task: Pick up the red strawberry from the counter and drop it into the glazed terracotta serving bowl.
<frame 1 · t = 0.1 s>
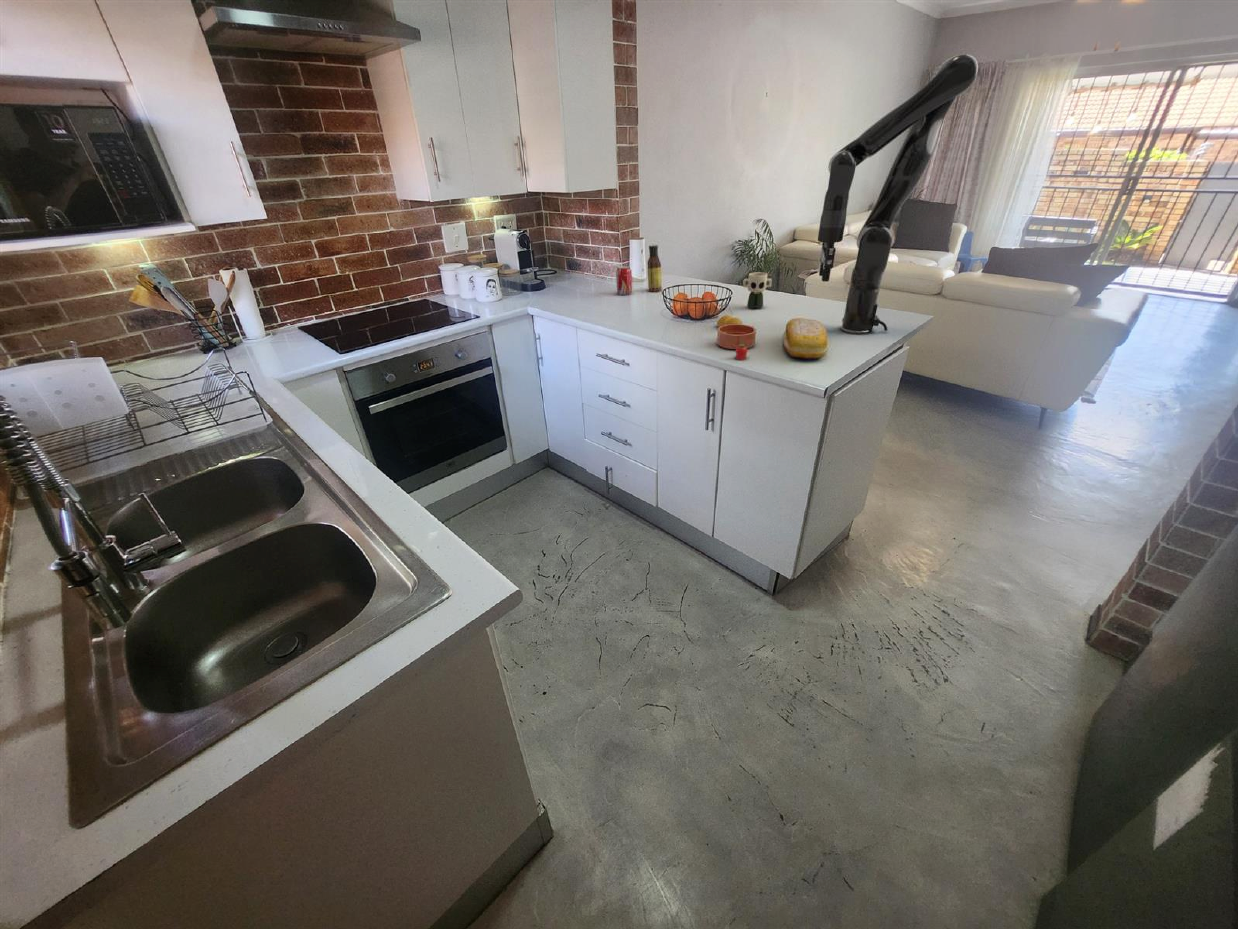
hand: (823, 278, 168), 17 cm above the worktop, tool pointing down, fingers open, 8 cm apart
bread roll: (729, 327, 184), on the worktop
sauce bottle: (654, 290, 238), on the worktop
character mug: (754, 308, 205), on the worktop
bread: (803, 348, 162), on the worktop
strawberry: (740, 358, 156), on the worktop
soda can: (624, 294, 235), on the worktop
bowl: (735, 344, 167), on the worktop
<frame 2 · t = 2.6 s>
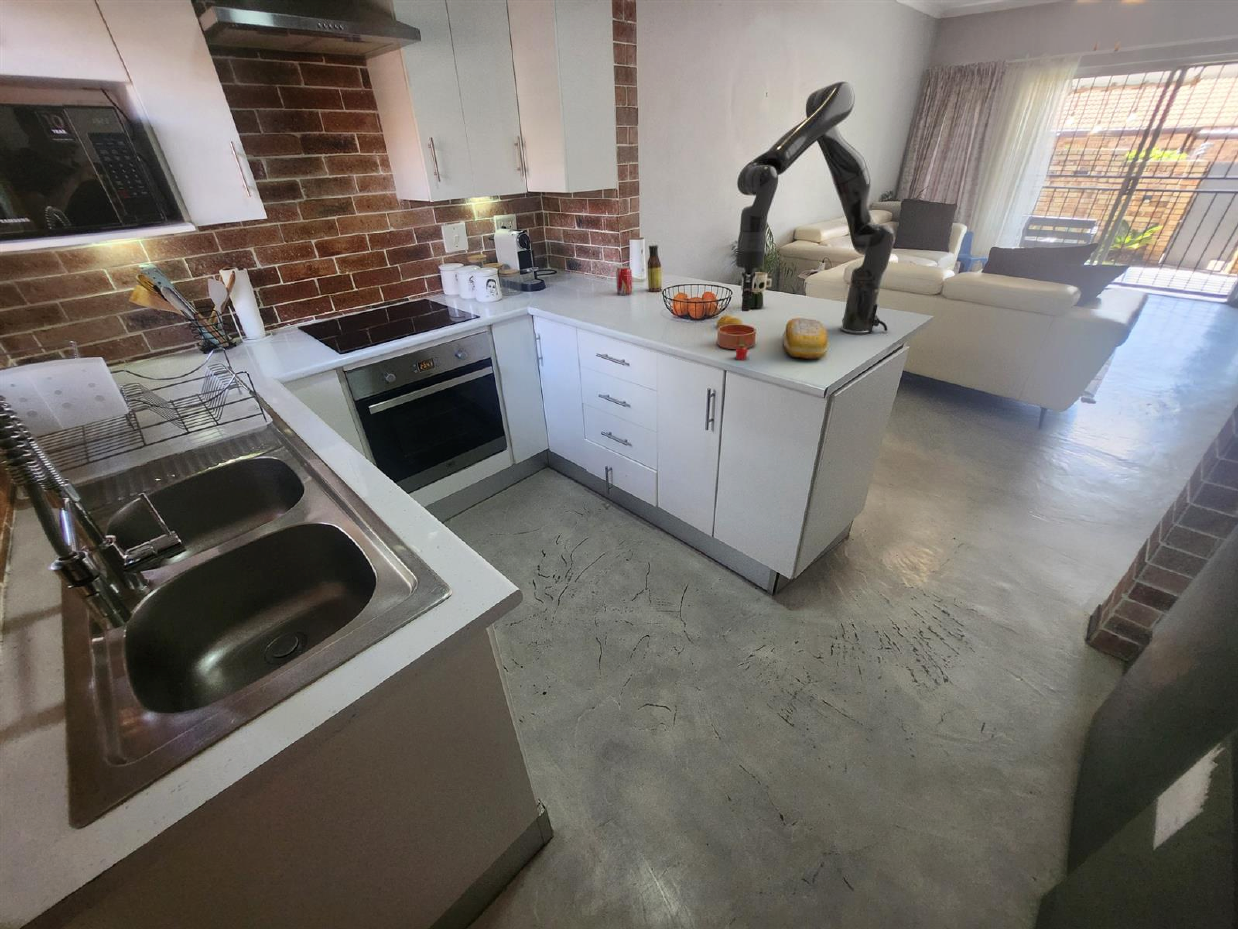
hand: (745, 307, 149), 15 cm above the worktop, tool pointing down, fingers open, 8 cm apart
nothing on the worktop moved.
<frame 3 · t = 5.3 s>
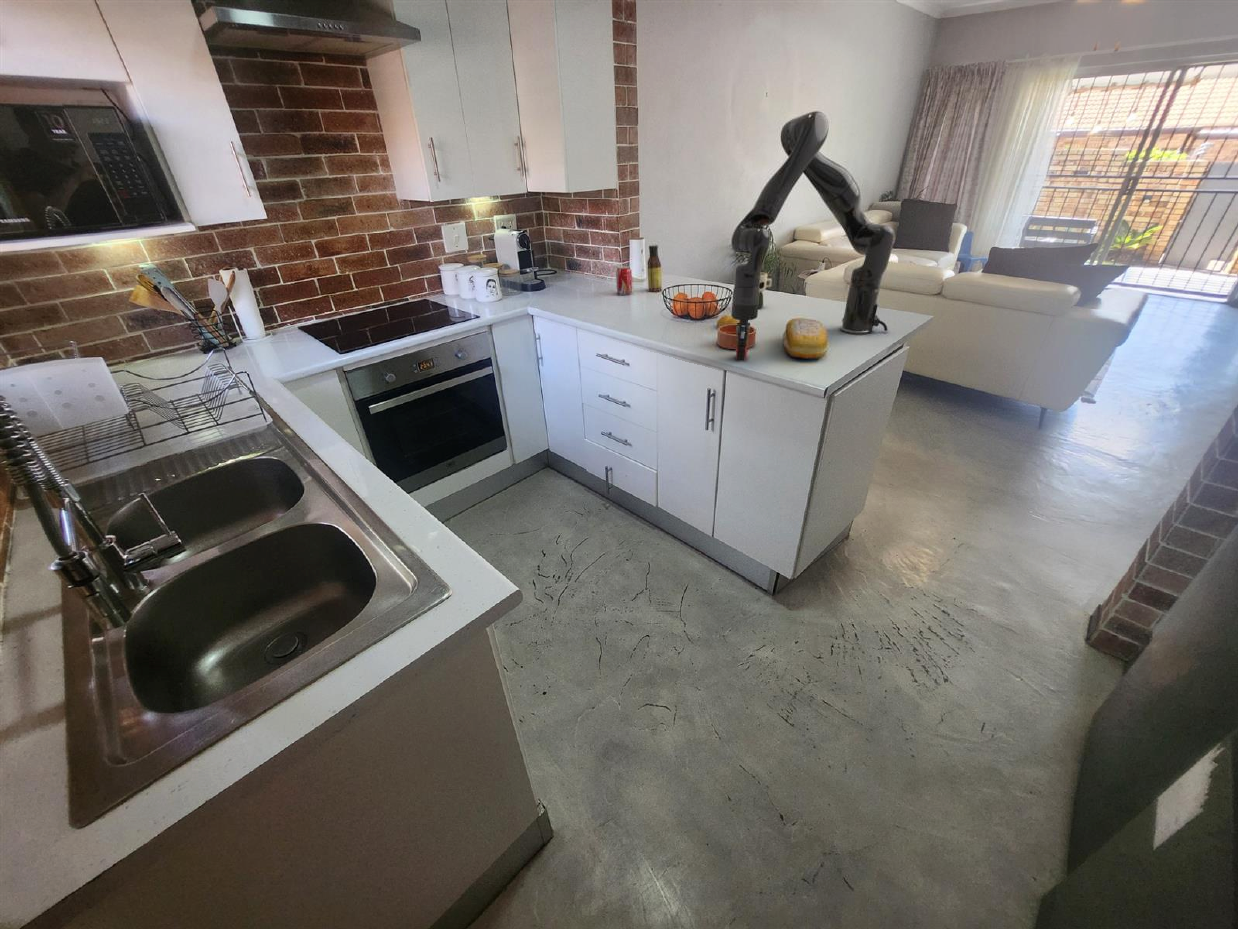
hand: (740, 357, 156), 0 cm above the worktop, tool pointing down, fingers closed on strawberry, 3 cm apart
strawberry: (740, 358, 156), on the worktop, touching gripper
everything else where it was.
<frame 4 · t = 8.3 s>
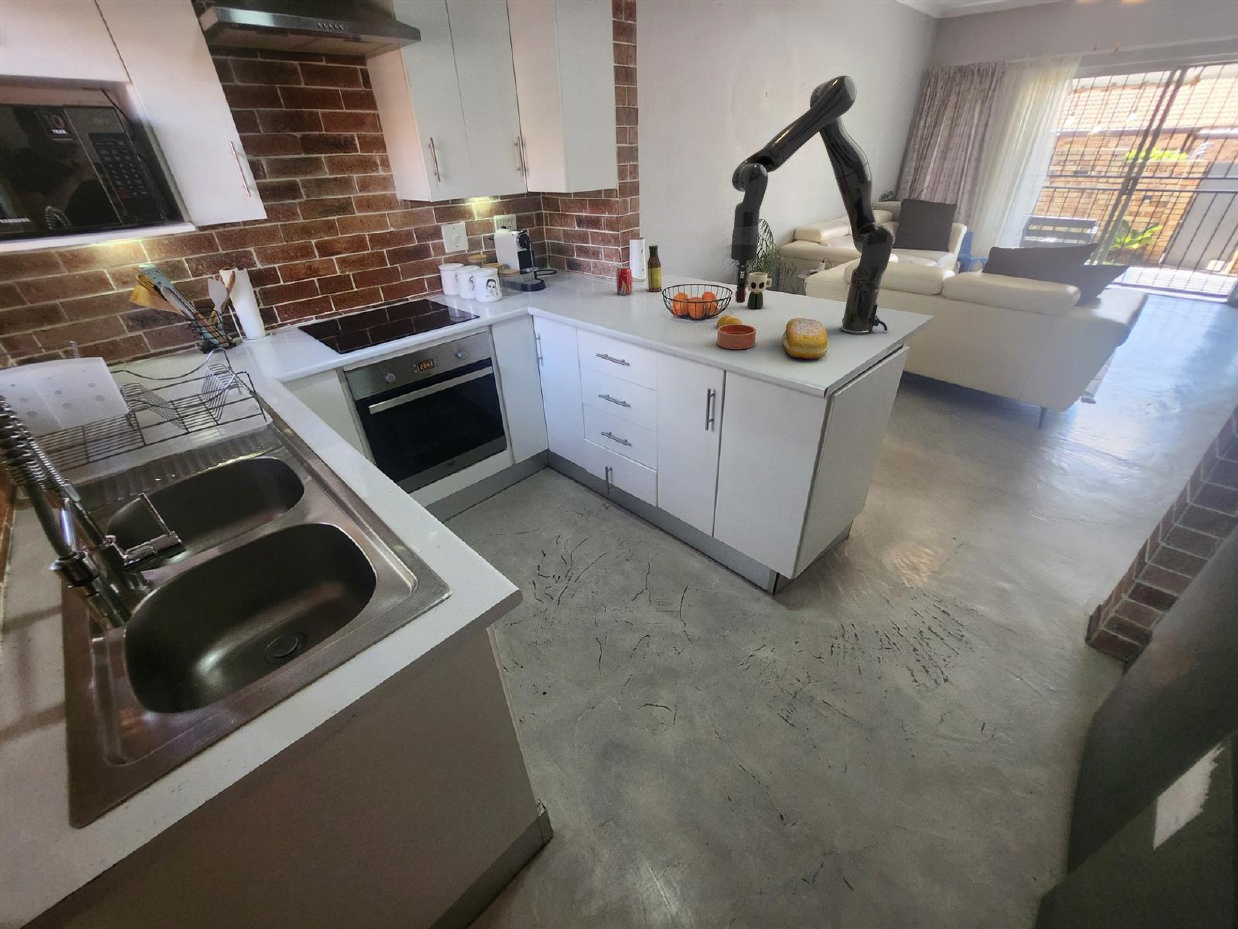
hand: (740, 300, 158), 15 cm above the worktop, tool pointing down, fingers closed on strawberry, 3 cm apart
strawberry: (740, 301, 158), point 14 cm above the worktop, touching gripper
everything else where it was.
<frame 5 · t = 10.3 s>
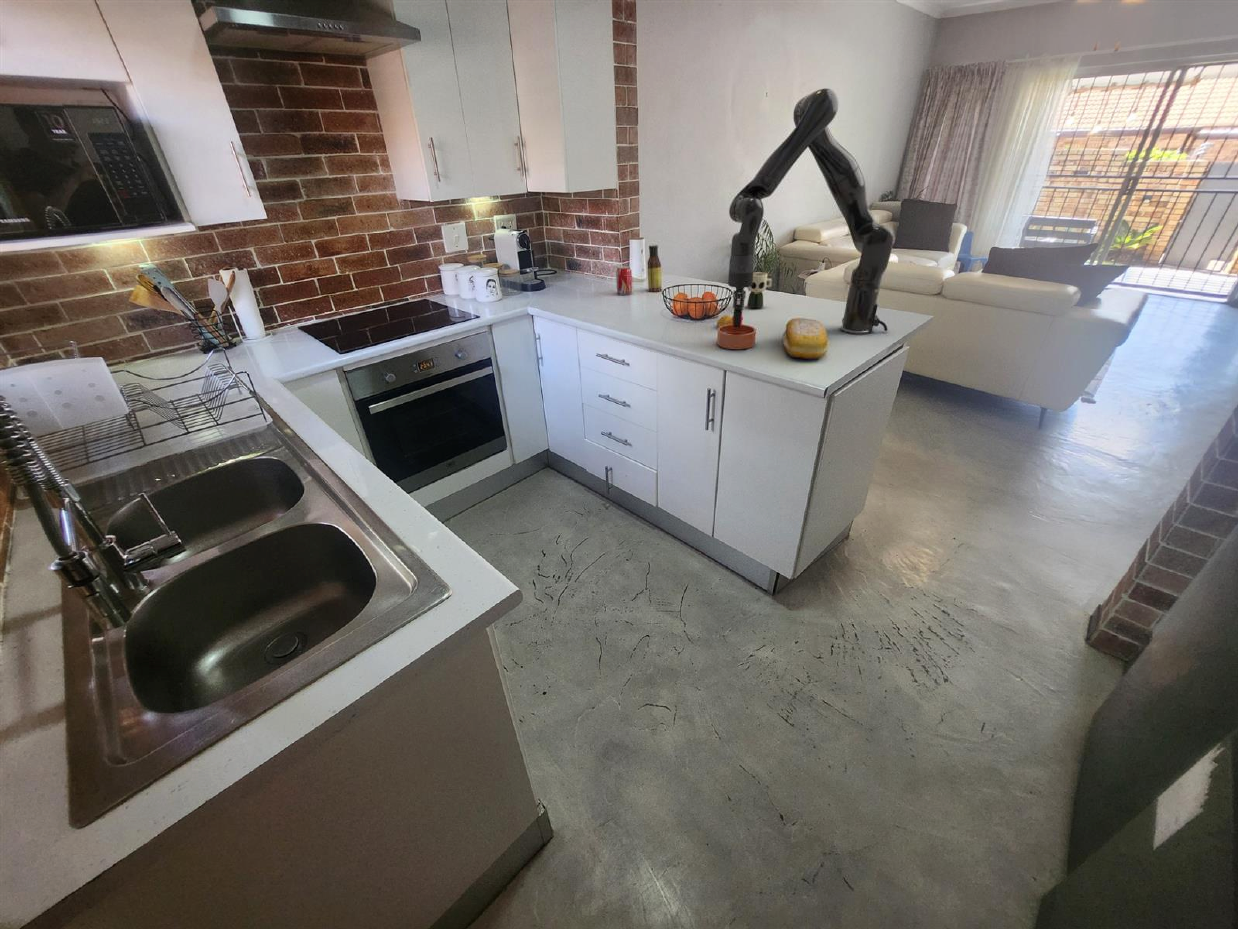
hand: (736, 324, 164), 6 cm above the worktop, tool pointing down, fingers closed on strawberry, 3 cm apart
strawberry: (736, 325, 164), point 6 cm above the worktop, touching gripper
everything else where it was.
when the fingers open (3 cm above the worktop, at t = 11.6 s): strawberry drops 2 cm, resting on bowl.
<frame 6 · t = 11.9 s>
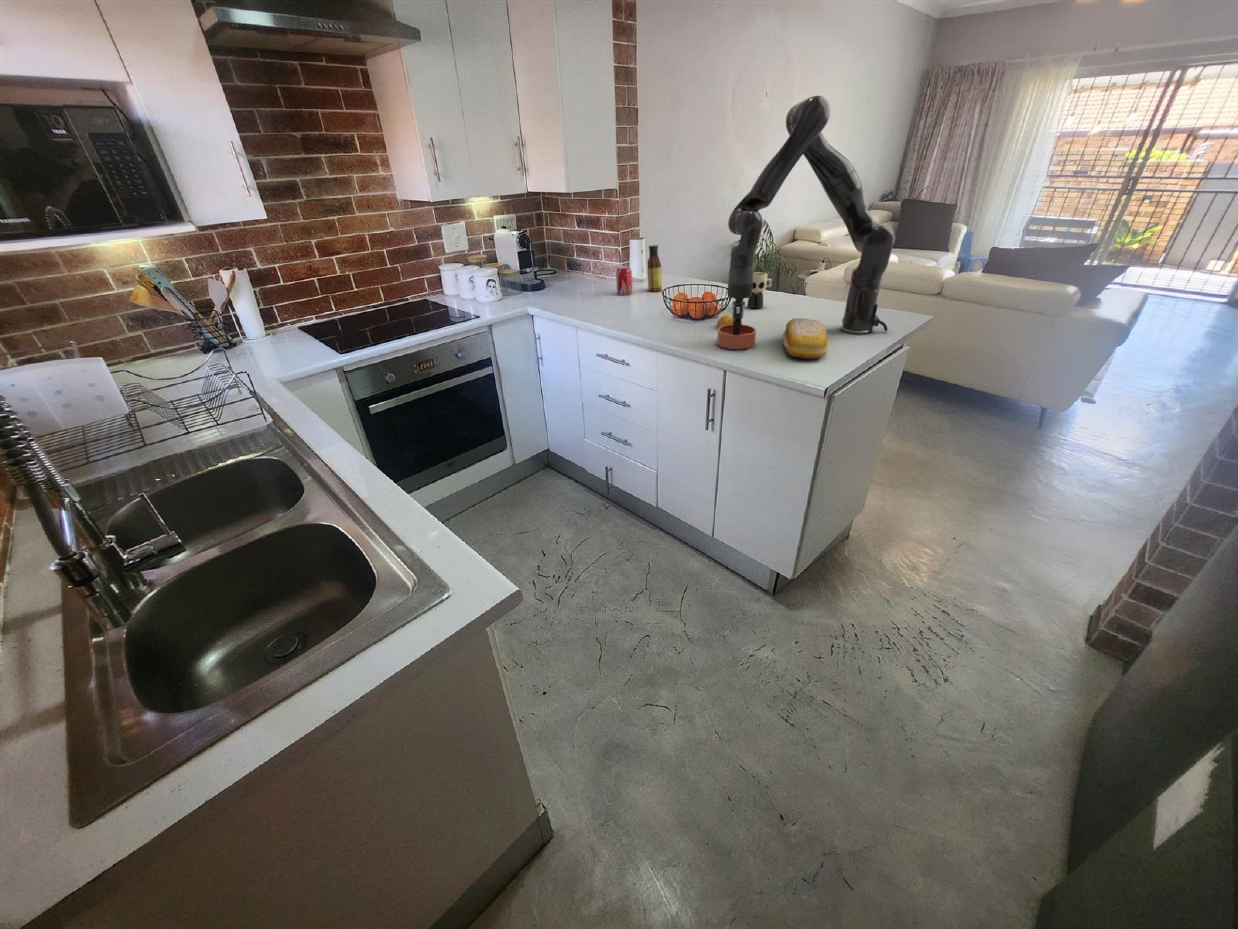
hand: (736, 333, 165), 4 cm above the worktop, tool pointing down, fingers open, 6 cm apart
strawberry: (735, 342, 167), resting on bowl
everything else where it was.
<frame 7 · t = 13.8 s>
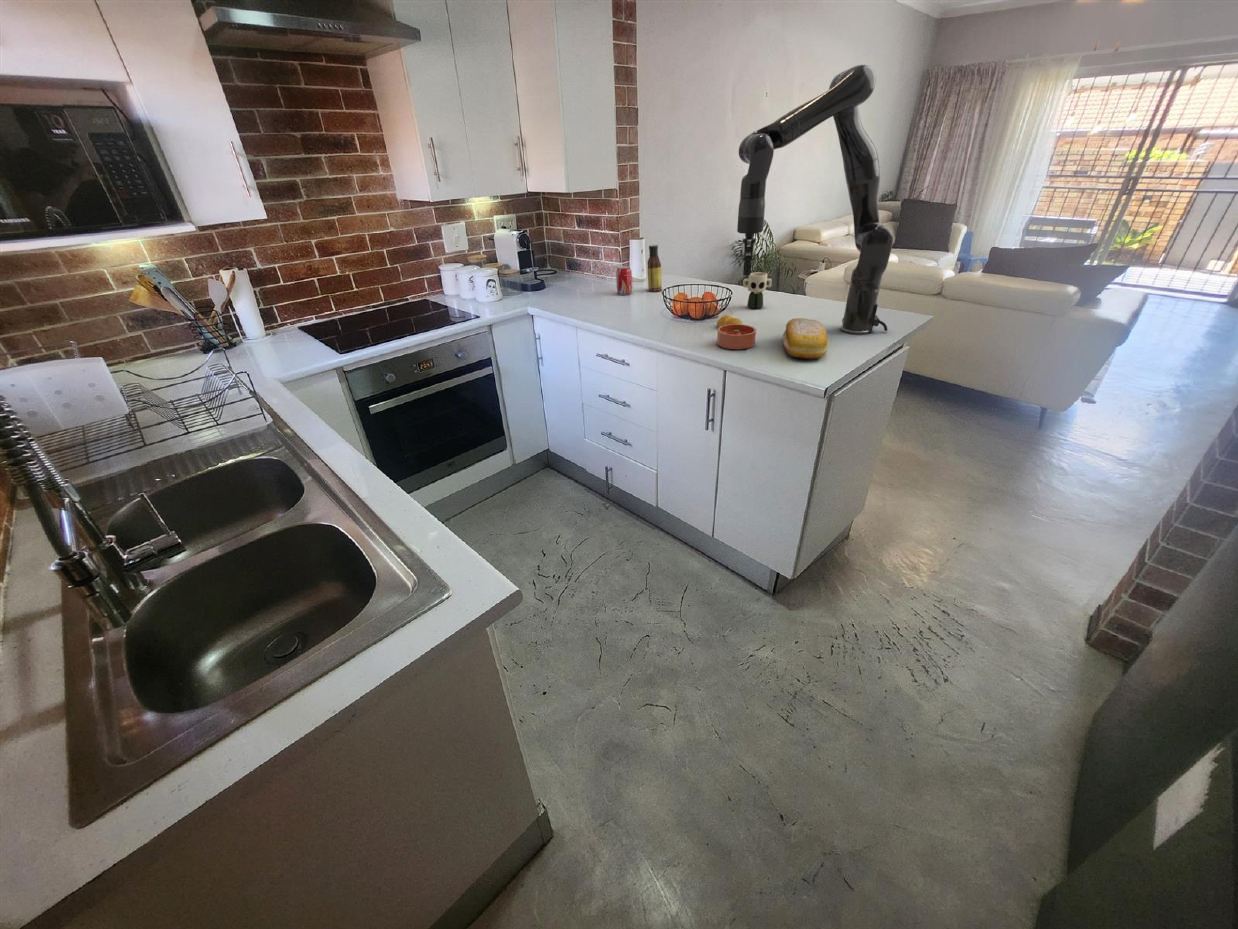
hand: (746, 272, 157), 22 cm above the worktop, tool pointing down, fingers open, 8 cm apart
nothing on the worktop moved.
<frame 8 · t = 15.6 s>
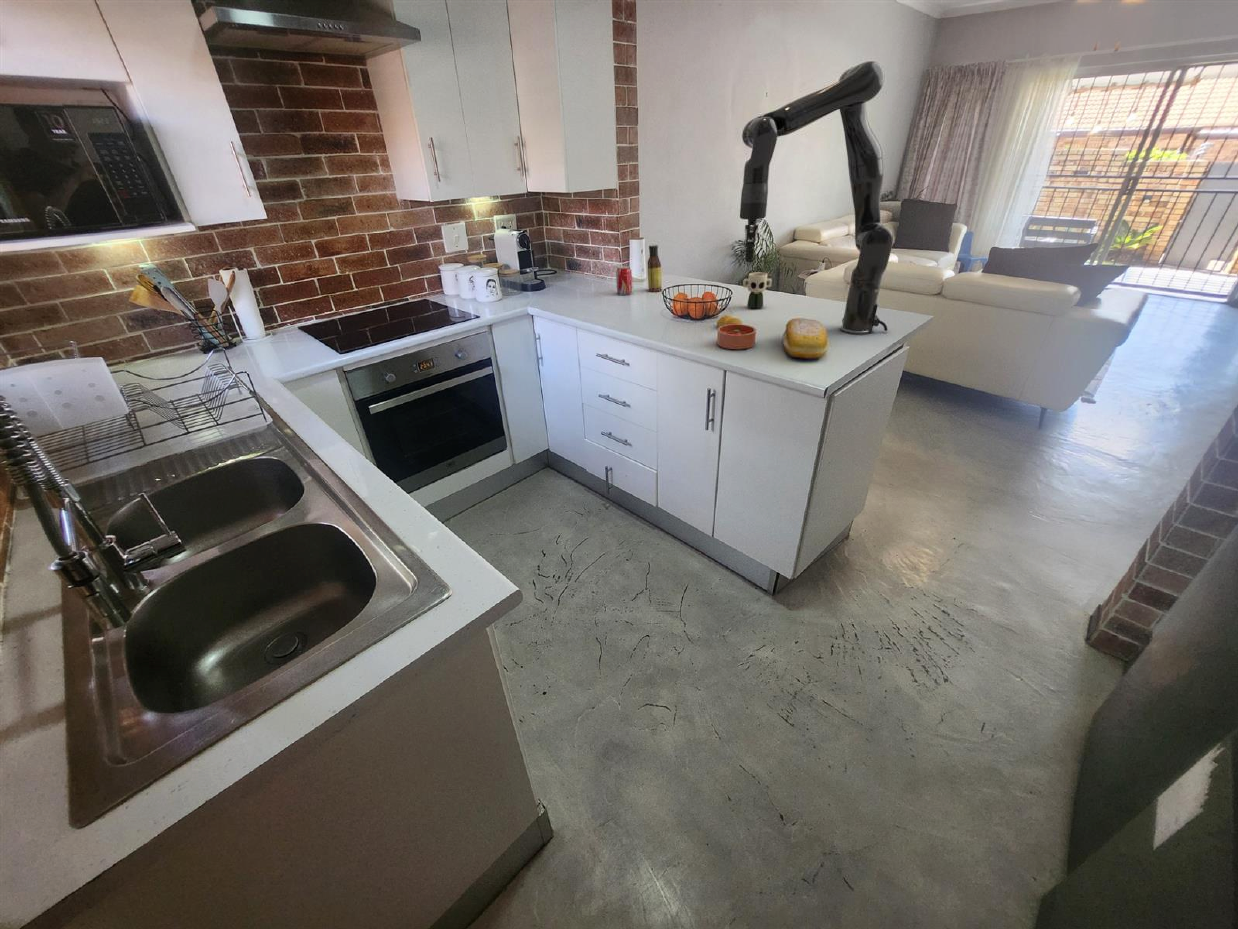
hand: (749, 259, 156), 26 cm above the worktop, tool pointing down, fingers open, 8 cm apart
nothing on the worktop moved.
at the end: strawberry inside the target area in the bowl (0.0 cm from its centre), point 0.5 cm above the bowl's base; the gripper is holding nothing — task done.
